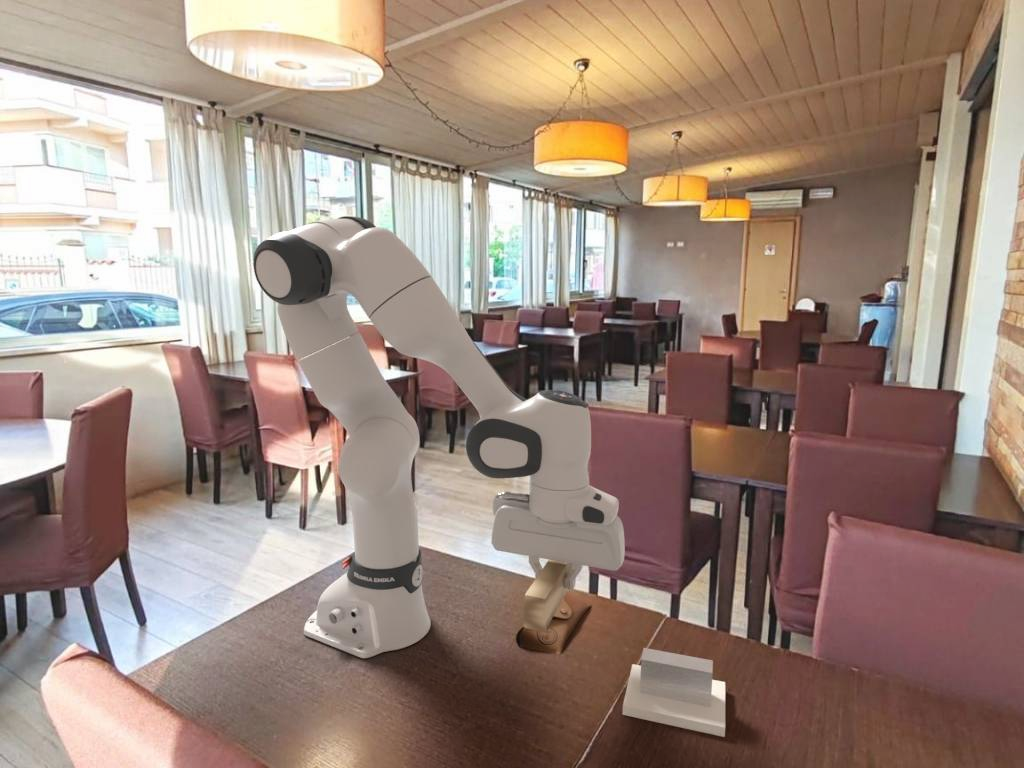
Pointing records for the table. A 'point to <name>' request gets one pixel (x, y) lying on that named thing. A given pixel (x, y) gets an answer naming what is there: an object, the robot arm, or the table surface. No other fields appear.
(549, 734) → the table surface
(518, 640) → the sunglasses case
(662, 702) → the ridge stand
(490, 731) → the table surface
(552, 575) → the oak rod
